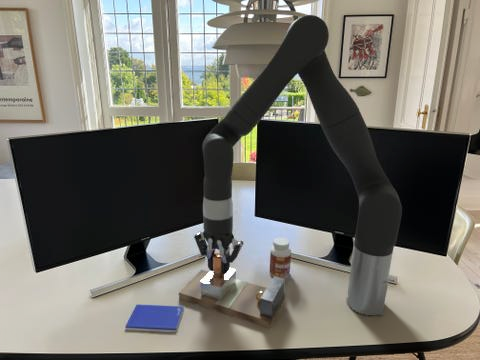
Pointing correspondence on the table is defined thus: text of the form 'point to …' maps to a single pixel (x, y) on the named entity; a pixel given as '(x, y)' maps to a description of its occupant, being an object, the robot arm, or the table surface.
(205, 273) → the board
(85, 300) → the table surface
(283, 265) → the pill bottle
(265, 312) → the grey block with knob
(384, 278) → the robot arm
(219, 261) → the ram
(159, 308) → the hard drive
